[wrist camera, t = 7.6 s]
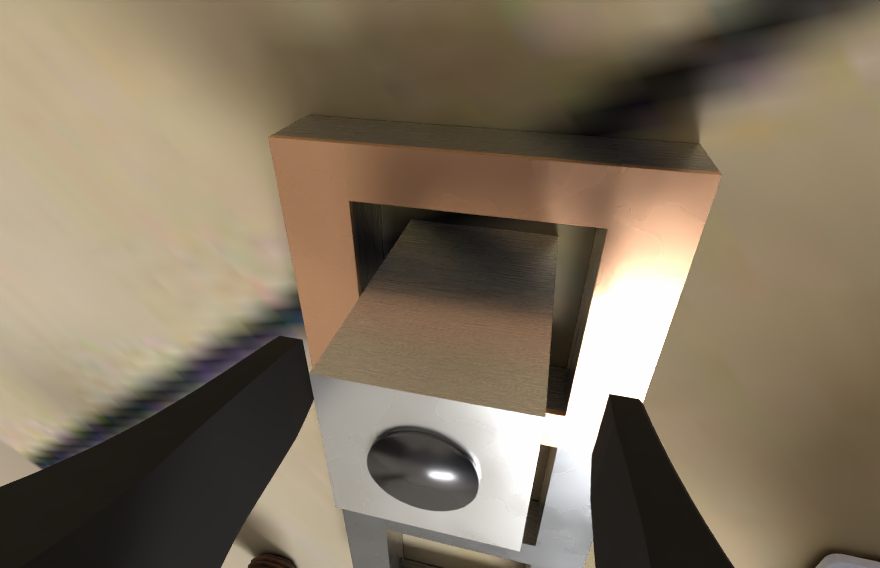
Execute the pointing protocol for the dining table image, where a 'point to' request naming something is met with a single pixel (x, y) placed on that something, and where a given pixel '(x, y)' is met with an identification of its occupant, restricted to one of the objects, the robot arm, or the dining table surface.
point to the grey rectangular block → (443, 382)
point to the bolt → (270, 562)
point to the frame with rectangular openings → (519, 197)
